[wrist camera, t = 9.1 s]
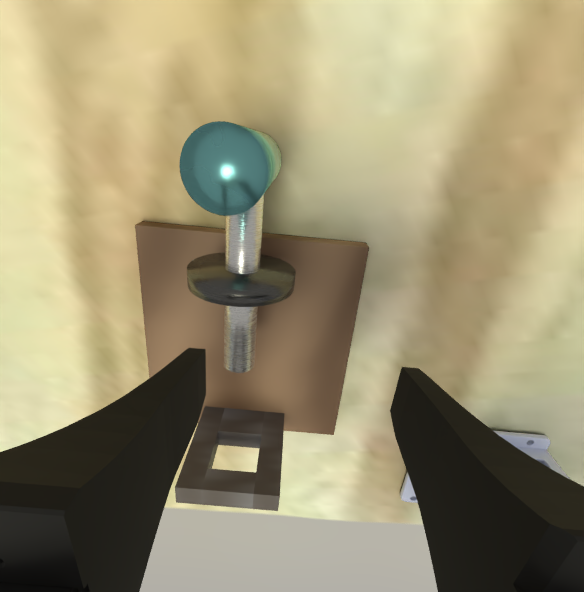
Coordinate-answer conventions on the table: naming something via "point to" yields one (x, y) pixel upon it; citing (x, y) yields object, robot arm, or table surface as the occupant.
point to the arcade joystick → (235, 230)
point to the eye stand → (268, 353)
